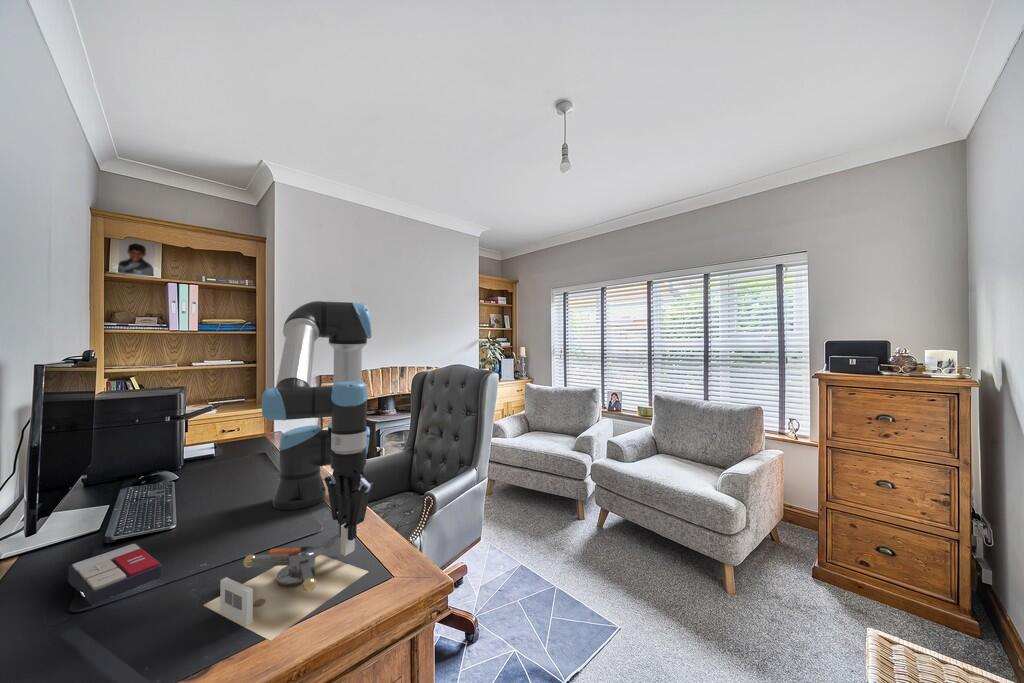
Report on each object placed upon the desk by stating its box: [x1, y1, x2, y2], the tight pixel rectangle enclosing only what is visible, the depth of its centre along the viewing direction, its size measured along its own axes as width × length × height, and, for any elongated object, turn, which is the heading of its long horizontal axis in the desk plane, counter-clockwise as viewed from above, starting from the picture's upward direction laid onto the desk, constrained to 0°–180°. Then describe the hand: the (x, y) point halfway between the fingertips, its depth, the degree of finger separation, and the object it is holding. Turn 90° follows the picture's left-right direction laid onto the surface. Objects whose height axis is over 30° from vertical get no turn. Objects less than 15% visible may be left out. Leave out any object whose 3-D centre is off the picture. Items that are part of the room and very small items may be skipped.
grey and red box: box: [67, 543, 163, 605], centre depth 84 cm, size 11×4×15 cm
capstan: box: [243, 533, 341, 592], centre depth 86 cm, size 18×21×6 cm
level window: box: [219, 576, 253, 626], centre depth 71 cm, size 1×8×6 cm, turn 65°
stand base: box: [203, 554, 370, 642], centre depth 80 cm, size 22×20×2 cm
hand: (347, 552), depth 89 cm, fingers closed
